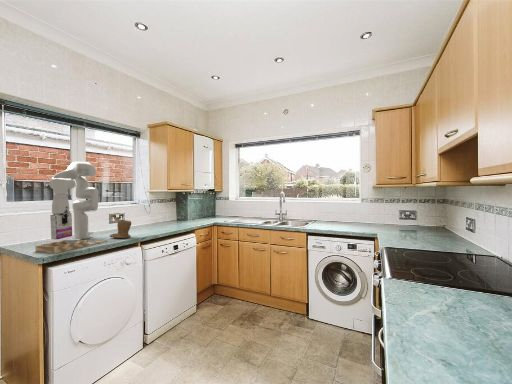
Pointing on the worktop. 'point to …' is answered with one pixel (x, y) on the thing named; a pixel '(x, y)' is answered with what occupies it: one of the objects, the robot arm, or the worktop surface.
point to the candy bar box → (60, 226)
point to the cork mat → (96, 242)
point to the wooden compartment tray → (59, 246)
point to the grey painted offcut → (72, 241)
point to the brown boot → (122, 229)
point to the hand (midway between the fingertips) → (61, 223)
